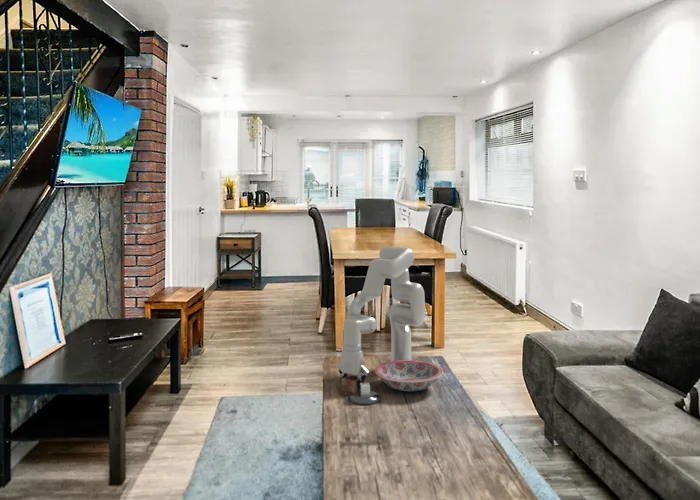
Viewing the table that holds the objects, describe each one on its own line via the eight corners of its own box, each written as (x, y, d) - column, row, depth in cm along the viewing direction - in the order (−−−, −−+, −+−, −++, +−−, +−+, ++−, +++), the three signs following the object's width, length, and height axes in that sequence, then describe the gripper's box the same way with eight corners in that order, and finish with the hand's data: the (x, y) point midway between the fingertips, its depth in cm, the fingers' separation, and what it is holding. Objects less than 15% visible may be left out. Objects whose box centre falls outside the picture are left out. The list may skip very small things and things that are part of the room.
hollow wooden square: (341, 389, 243) (341, 378, 242) (351, 385, 248) (351, 374, 248) (354, 393, 239) (354, 381, 238) (364, 388, 244) (364, 377, 244)
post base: (348, 395, 236) (348, 380, 235) (376, 393, 238) (376, 378, 237) (352, 406, 224) (352, 390, 224) (382, 403, 226) (382, 388, 225)
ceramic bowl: (446, 379, 254) (446, 362, 253) (438, 403, 226) (438, 383, 225) (383, 374, 262) (382, 358, 261) (368, 397, 234) (368, 378, 233)
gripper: (331, 346, 244) (331, 385, 245) (363, 352, 233) (364, 393, 235) (341, 342, 250) (342, 380, 251) (374, 348, 239) (374, 388, 241)
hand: (353, 386), depth 243 cm, fingers open, 7 cm apart
